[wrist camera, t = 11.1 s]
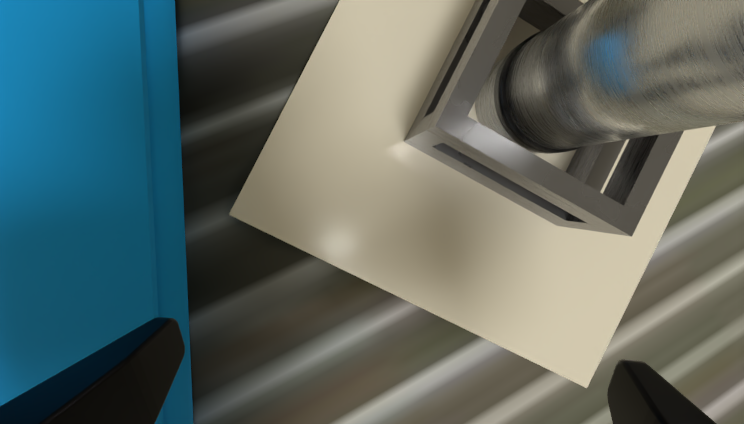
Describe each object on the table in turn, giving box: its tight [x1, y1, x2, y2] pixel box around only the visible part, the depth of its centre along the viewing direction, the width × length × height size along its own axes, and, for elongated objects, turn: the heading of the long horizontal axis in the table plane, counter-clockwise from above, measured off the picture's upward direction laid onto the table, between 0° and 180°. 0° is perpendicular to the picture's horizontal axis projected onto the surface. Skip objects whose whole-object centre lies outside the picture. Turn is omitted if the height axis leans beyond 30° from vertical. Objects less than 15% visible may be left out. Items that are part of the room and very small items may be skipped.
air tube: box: [475, 0, 744, 154], centre depth 13 cm, size 5×5×13 cm
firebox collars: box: [404, 0, 684, 237], centre depth 17 cm, size 8×8×5 cm
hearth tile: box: [229, 0, 715, 388], centre depth 19 cm, size 20×18×1 cm
